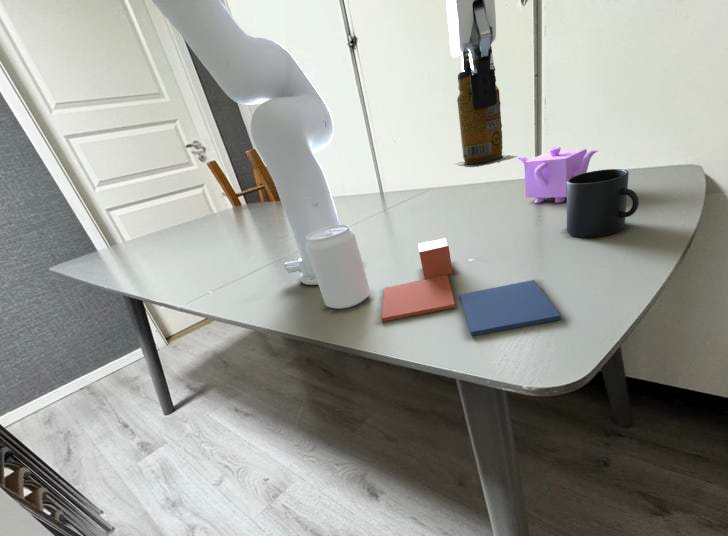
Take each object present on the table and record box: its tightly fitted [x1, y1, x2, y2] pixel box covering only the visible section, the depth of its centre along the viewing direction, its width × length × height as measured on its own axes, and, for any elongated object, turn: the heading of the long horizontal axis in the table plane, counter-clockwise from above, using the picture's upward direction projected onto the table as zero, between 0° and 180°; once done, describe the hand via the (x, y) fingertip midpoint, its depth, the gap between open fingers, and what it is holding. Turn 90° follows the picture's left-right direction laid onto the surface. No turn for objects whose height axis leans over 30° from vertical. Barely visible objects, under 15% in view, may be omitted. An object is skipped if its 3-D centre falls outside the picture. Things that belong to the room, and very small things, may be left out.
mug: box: [566, 168, 640, 238], centre depth 70 cm, size 9×12×9 cm
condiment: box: [454, 65, 518, 168], centre depth 59 cm, size 7×8×12 cm
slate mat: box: [459, 279, 562, 337], centre depth 55 cm, size 11×12×1 cm
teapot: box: [516, 146, 600, 204], centre depth 94 cm, size 15×13×11 cm
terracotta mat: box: [381, 275, 457, 322], centre depth 64 cm, size 11×12×1 cm
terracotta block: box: [418, 237, 454, 280], centre depth 71 cm, size 5×5×5 cm
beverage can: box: [306, 224, 371, 310], centre depth 67 cm, size 8×8×12 cm
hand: (480, 106), depth 59 cm, fingers closed on condiment, 6 cm apart
